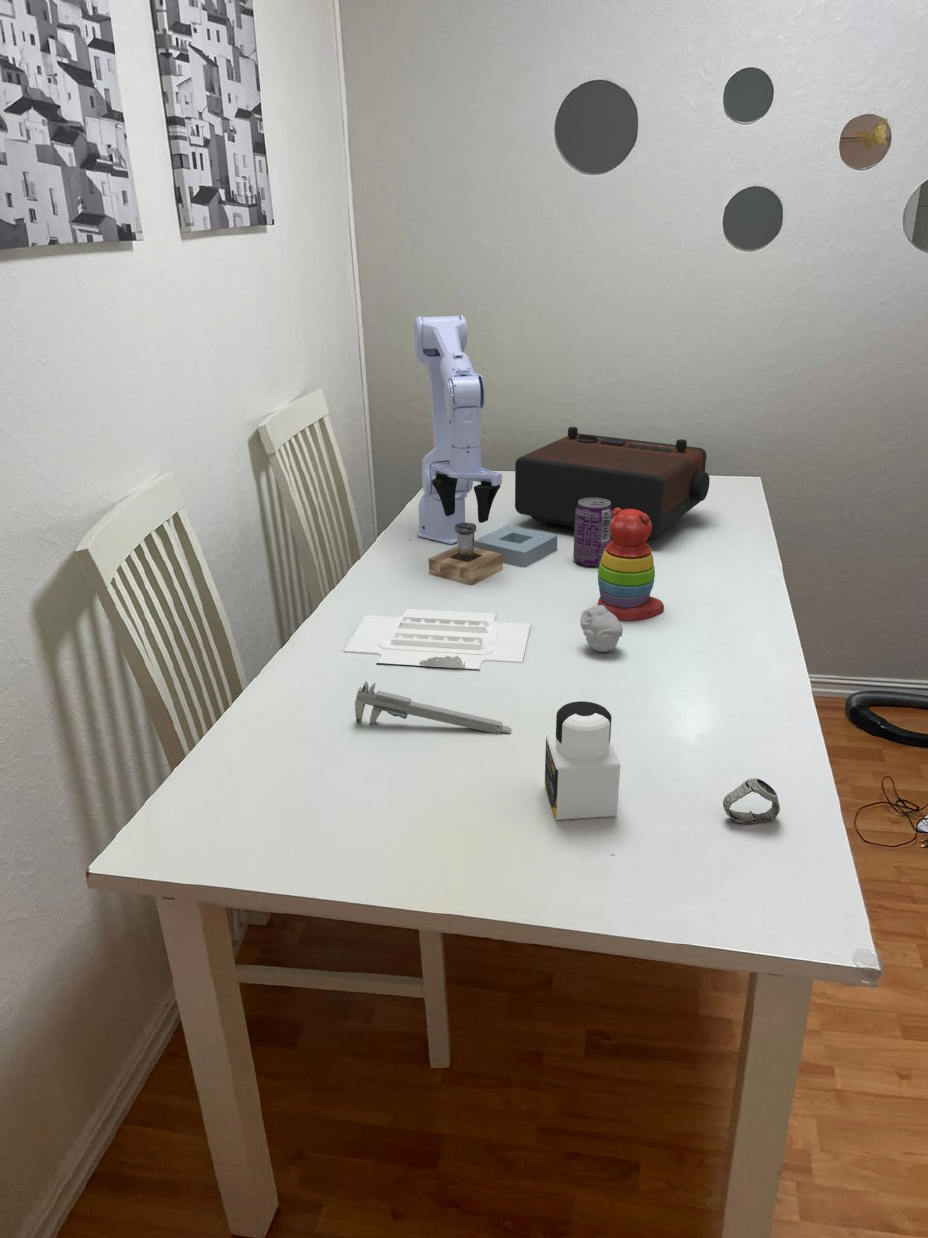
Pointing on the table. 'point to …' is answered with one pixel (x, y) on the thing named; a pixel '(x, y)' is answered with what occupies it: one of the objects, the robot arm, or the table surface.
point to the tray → (440, 639)
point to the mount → (466, 565)
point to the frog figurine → (600, 628)
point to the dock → (518, 544)
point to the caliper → (419, 711)
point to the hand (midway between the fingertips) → (466, 518)
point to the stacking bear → (628, 568)
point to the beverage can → (591, 530)
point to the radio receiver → (610, 478)
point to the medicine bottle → (582, 763)
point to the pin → (465, 541)
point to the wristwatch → (750, 817)
